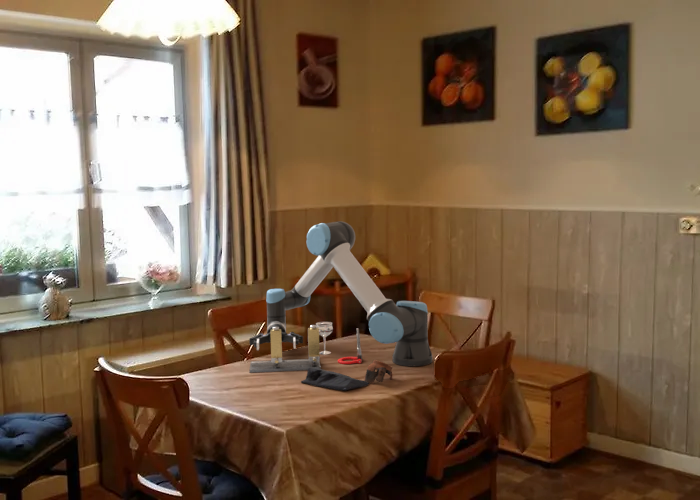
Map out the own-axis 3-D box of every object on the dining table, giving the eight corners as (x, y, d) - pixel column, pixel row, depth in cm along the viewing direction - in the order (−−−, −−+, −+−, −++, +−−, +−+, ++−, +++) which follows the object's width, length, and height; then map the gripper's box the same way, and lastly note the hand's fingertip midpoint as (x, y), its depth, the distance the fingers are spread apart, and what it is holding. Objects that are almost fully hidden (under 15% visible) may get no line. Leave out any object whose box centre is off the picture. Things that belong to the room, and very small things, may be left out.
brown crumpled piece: (359, 380, 266) (367, 358, 268) (383, 390, 268) (391, 368, 270) (367, 380, 255) (376, 358, 257) (392, 391, 256) (401, 368, 258)
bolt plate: (318, 360, 291) (317, 321, 289) (320, 369, 279) (319, 328, 277) (250, 363, 288) (249, 324, 287) (249, 372, 277) (247, 331, 275)
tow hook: (337, 365, 285) (361, 364, 285) (334, 332, 284) (359, 330, 283) (338, 360, 294) (362, 358, 293) (336, 327, 292) (360, 326, 292)
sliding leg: (282, 359, 286) (281, 325, 284) (282, 365, 278) (281, 329, 277) (271, 360, 285) (270, 325, 284) (271, 365, 278) (270, 330, 277)
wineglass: (318, 350, 307) (317, 321, 305) (334, 350, 306) (333, 321, 304) (315, 354, 300) (314, 325, 299) (331, 355, 299) (331, 325, 298)
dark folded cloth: (342, 396, 249) (341, 382, 248) (297, 383, 264) (296, 370, 263) (373, 385, 260) (373, 372, 259) (328, 374, 275) (328, 361, 274)
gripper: (308, 340, 302) (310, 354, 281) (245, 343, 299) (242, 357, 278) (307, 322, 301) (309, 334, 280) (244, 324, 299) (241, 337, 278)
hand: (276, 345), depth 279 cm, fingers open, 13 cm apart
